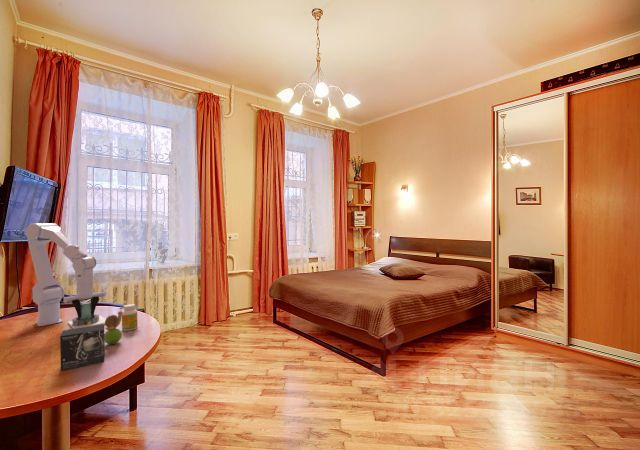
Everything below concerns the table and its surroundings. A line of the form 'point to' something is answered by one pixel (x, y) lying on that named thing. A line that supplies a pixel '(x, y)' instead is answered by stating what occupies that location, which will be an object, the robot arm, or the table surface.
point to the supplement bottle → (129, 317)
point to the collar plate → (87, 321)
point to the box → (82, 346)
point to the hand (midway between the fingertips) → (85, 315)
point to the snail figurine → (113, 328)
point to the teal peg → (85, 311)
